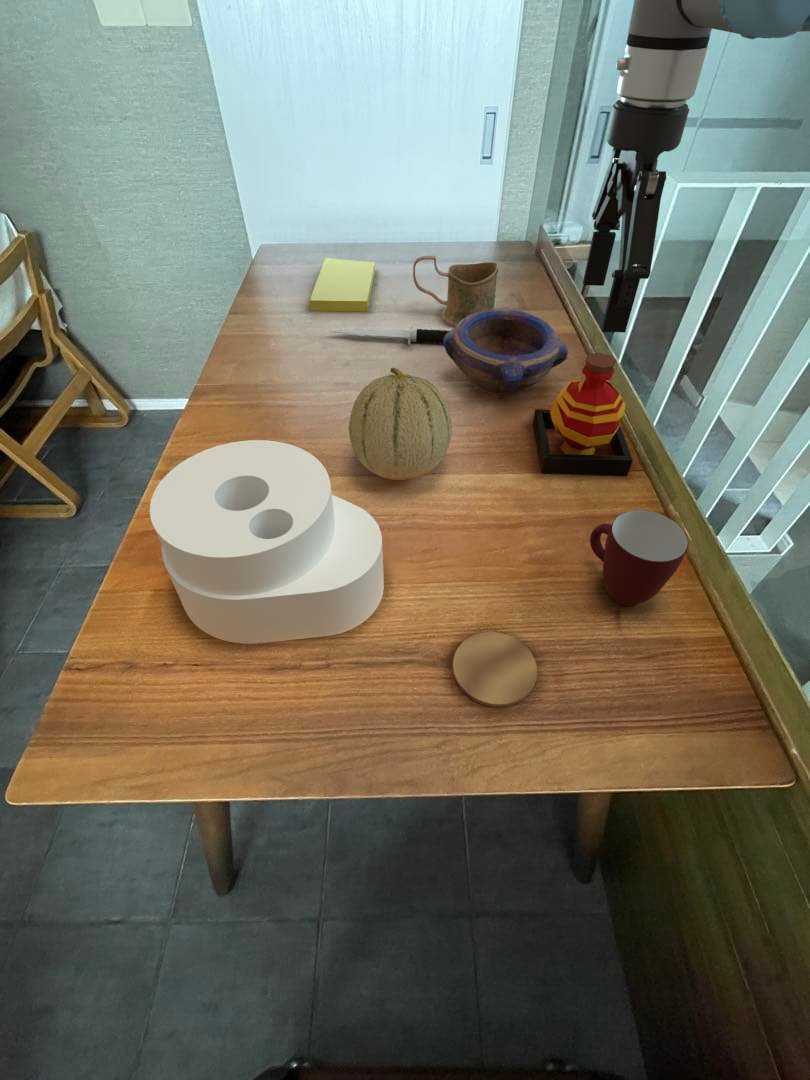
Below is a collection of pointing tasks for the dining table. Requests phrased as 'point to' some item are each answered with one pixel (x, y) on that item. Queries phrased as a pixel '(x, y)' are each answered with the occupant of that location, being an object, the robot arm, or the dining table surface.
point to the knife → (400, 334)
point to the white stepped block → (266, 545)
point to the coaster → (494, 669)
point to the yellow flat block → (343, 286)
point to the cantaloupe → (400, 426)
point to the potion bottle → (589, 408)
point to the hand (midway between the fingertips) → (602, 306)
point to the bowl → (504, 349)
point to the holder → (579, 463)
